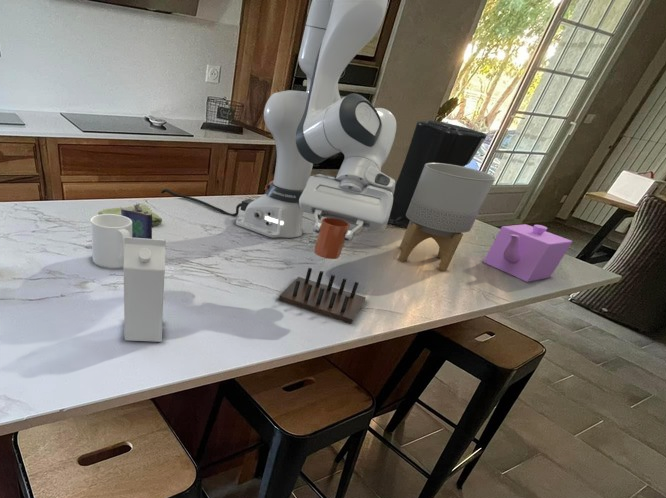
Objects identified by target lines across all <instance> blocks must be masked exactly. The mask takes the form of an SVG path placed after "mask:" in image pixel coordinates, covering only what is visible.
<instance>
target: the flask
mask: <svg viewBox="0 0 666 498" xmlns="http://www.w3.org/2000/svg"><path fill="white" fill-rule="evenodd" d="M140 205H141V203H136V204H133V207H135V209H131V208H123V207H122V209H121V215H122V216H125V217H128V218H130V219H131V220H132V238H145V239H153V226H152V214H151V213H149V212H148V211H146V210H145V211H144V210H142V208H140V207H139V206H140Z"/></svg>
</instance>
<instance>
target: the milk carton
mask: <svg viewBox="0 0 666 498" xmlns="http://www.w3.org/2000/svg"><path fill="white" fill-rule="evenodd" d="M166 241H167V240H166V239H158V238H157V239H156V238H152V239H145V238H131V237H124V265H123V268H122V269H123V317H124V318H123V321H124V323H123V324H124V326H123V327H124V328H123V329H124V341H130V342H131V341H132V342H133V341H134V342H154V343H155V342H159V343H161V342H162V340H163V320H164V319H163V318H164V298H165V297H164V296H165V274H166V246H167V245H166V243H167V242H166Z"/></svg>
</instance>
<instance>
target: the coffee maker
mask: <svg viewBox="0 0 666 498" xmlns="http://www.w3.org/2000/svg"><path fill="white" fill-rule="evenodd" d="M486 138H487V134H486V133H484V132H482V131H478V130H476V129H472V128H468V127H465V126H460V125H456V124H452V123H447V122H442V121H437V120H428V119H427V120H426V121H424V120H422V121H421V120H419V121H417V123H416V125H415V128H414V130H413V134H412V137H411V140H410V143H409V147H408V150H407V153H406V155H405V158H404V162H403V164H402V167H401V170H400V172H399V175H398V178H397V180H396V181H395V190H394V194H393V204H392V208H391V213H390V217H389V220H388V223H387V226H397V227H400V228H403V229H407V227H408V224H409V222H410V220H409V219H408V218H407V217H406V213H407V210H408V208H409V205H410V202H411V200H412V197H413V194H414V192H415V189H416V187H417V184H418V181H419V179H420V176H421V173H422V171H423V168H424V166H425V164H426V163H444V164H451V165H457V166H462V167H466V166H467V165H470V163H471V162H472V161H473V159H474V158H475V156H476V155H477V153H478V151H479V150H480V148H481V147H482V145H483V143H484V142H485V140H486Z"/></svg>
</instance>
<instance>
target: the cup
mask: <svg viewBox="0 0 666 498" xmlns="http://www.w3.org/2000/svg"><path fill="white" fill-rule="evenodd" d="M320 223H321V226H320V230H319V233H317V238H316V241H315V245H314V249H313V252H314V254H315V255H316V256H318V257H320V258H324V259H328V260H336V259H339V258H340V256H341V254H342V251H343V248H344V244H345V242H346V241H345V240H344V237H345V234H346V233H347V230H349V229H350V223H347V222H346V221H343V220H340V219H336V218H326V217H323V219H322V220H321V222H320Z"/></svg>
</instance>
